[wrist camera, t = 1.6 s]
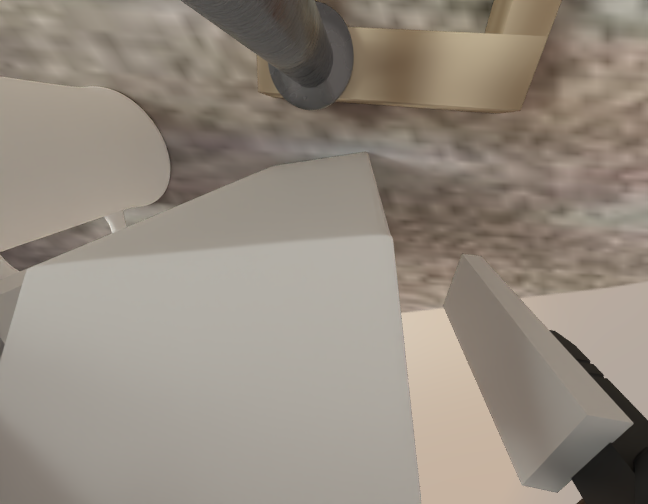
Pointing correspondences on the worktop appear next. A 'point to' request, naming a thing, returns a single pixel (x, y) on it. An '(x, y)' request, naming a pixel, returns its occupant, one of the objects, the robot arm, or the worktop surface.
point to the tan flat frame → (447, 62)
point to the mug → (72, 160)
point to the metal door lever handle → (290, 44)
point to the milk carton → (217, 354)
